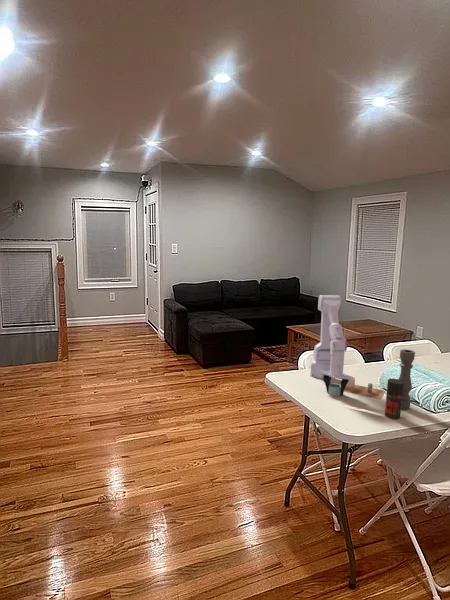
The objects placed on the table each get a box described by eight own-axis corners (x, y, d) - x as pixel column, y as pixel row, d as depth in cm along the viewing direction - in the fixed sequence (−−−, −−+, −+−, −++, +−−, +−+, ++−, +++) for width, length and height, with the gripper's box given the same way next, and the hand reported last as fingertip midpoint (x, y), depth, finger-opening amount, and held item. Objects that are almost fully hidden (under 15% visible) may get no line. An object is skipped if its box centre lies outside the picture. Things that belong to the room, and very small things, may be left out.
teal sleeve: (326, 396, 186) (327, 386, 185) (330, 392, 191) (331, 382, 190) (339, 399, 183) (339, 388, 183) (342, 395, 188) (343, 385, 187)
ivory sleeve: (340, 388, 194) (341, 378, 193) (343, 384, 199) (344, 374, 198) (352, 390, 191) (353, 380, 190) (355, 387, 196) (356, 377, 195)
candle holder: (409, 405, 179) (414, 350, 175) (410, 411, 173) (416, 354, 169) (393, 403, 181) (399, 348, 177) (394, 408, 175) (400, 352, 171)
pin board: (331, 391, 193) (332, 380, 192) (338, 383, 203) (339, 373, 202) (380, 402, 182) (381, 390, 181) (385, 393, 192) (386, 382, 191)
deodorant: (382, 412, 171) (385, 378, 168) (395, 412, 171) (399, 378, 169) (388, 419, 165) (392, 384, 162) (402, 419, 165) (406, 383, 163)
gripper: (318, 364, 185) (316, 392, 187) (350, 370, 178) (348, 399, 180) (323, 360, 191) (321, 387, 193) (354, 365, 184) (352, 394, 186)
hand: (334, 393), depth 187 cm, fingers closed on teal sleeve, 6 cm apart
